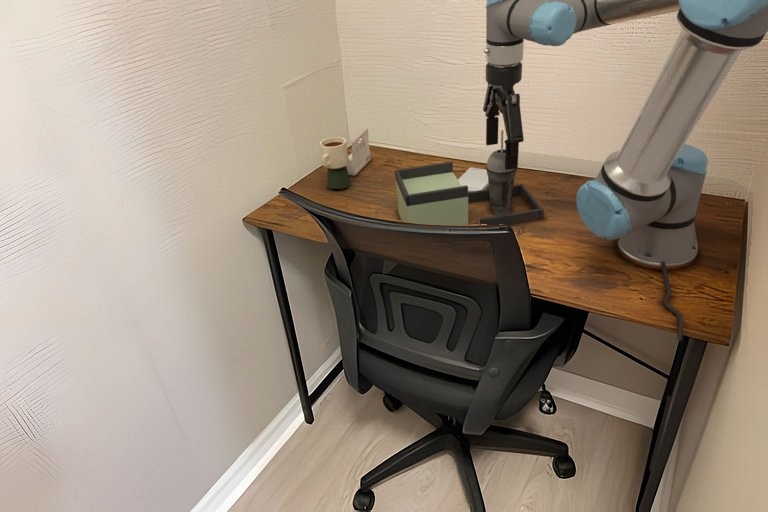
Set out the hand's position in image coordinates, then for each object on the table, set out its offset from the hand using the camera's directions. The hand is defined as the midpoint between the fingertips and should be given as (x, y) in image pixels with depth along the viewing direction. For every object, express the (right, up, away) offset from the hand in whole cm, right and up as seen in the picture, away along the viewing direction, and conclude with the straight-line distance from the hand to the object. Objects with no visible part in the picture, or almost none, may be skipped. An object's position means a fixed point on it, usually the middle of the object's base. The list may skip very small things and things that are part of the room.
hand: (501, 155), depth 136 cm
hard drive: (-3, -4, +20) cm, 21 cm away
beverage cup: (+1, -12, +8) cm, 14 cm away
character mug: (-39, -4, +26) cm, 47 cm away
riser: (-6, -13, +7) cm, 16 cm away
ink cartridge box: (-34, +2, +35) cm, 49 cm away
